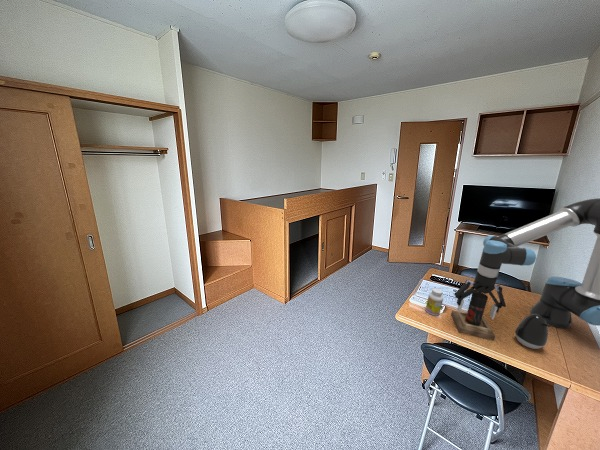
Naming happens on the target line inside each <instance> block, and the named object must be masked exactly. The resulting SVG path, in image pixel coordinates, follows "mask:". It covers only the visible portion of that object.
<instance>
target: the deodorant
mask: <svg viewBox="0 0 600 450" xmlns="http://www.w3.org/2000/svg"><path fill="white" fill-rule="evenodd" d="M488 299H489V296H488V295H487V294H484V293H478V292H476V293H473V294H471V297H470V301H469V305H468V308H467V311H466V312H467V315H466V318H465V321H466V322H467V323H468V324H470V325H475V326H480V323H481V320H482V317H484V314H485V309H486V305H487V302H488Z"/></svg>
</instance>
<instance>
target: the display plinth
mask: <svg viewBox="0 0 600 450" xmlns="http://www.w3.org/2000/svg"><path fill="white" fill-rule="evenodd" d="M466 315H467V311H466V312H465V311H462V310H461V313H460V312H458V310H456V311H455V310H452V311H451V312H450V317H451V318H452V320H453V323H454V325H455V328H456V329H457V331H458V333H459V334H463V335H467V336H472V337H476V338H481V339H485V340H489V341H490V340H491V341H495V339H496V334H495V333H494V331H493V330H492V328H491V327H490V325H489V323H488V322H487V320H486V319H485V317H484V316H482V320H481V323H480V326H475V325H470V324H468V323H467V322H466V321H465V318H466Z"/></svg>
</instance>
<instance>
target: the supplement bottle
mask: <svg viewBox="0 0 600 450" xmlns="http://www.w3.org/2000/svg"><path fill="white" fill-rule="evenodd" d="M426 301H427V302H426V305H425V311H426V312H427V313H428V314H429V315H432V316H439V315H440V313H441V309H442V305H443V302H444V297H443V290H441V289H440V288H436V287H435V288H432V289H431V292H430V293H429V294H428V298H427V300H426Z"/></svg>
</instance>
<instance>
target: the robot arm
mask: <svg viewBox="0 0 600 450" xmlns="http://www.w3.org/2000/svg"><path fill="white" fill-rule="evenodd" d="M580 225H592V226H594V227H593V228H594V229H593V233H594V235H596V236H597V237H596V239H595V243H594V246H593V249H592V252H591V255H590V258H589V261H588V263H587V264H588V265H587V268H586V271H585V272H584V276H583V279H582V282H580V281H577V280H574V279H571V278H568V277H562V276H550V277H548V279H547V280H546V282H545V284H544V287H543V290H542V293H541V296H540V298H539V300H538V301H537V302H536V303H535V304H534V305H533V306H532V307H531V309H530V311H529V312H530V315H531V314H538V315H541V316H542V317H543V318H544V319H545V320H546V323H547V324H549V325H550V327H551V326H552V327H555V328H560V329H570V328H571V326H572V324H573V319H572V314H574V315H575V316H576V317H578V318H579V319H580V320H582V321H585V322H586V323H587V324H590V325H592V326H598V327H599V326H600V198H598V197H597V198H589V199H584V200H581V201H577V202H573V203H571V204H569V205H566V206H563V207H560V208H559V209H558V211H557V212H555V213H552V214H549V215H547V216H545V217H542V218H540V219H537V220H535V221H533V222H530V223H527V224H525V225H523V226H520V227H518V228H515V229H513V230H511V231H508V232H506V233H503V234H501V235H498V236H497V235H488V236H486V237H485V238H484V239H483V242H482V244H483V248H482V252H481V256H480V260H479V263H478V265H477V271H476V272H475V273H476V274H475V275H474V276H475V277H474V280H473V281H471V280H469V279H465V282H464V283H463V284H462V285H461V286H460V288H459V289H458V290H457V291H455V292H454V293H453V295H454V297H455V299H457V300H456V304H457V308H456V311H458V312H460V313H461V311H462V308H463V307H464V306H463V305H464V299H466V298H468V297H469V296H472V294H473V293H476V292H478V293H483V294H485V295H487V294H488V295H489V296H490V297H491V299H492V301H493V302H494V303H493V304H492V305H491V306H492V307H491V310H490V313H489V317H490V319H492V320H494V319H495V316H496V314H498V313H499V311H500V309H502V308H503V307H504V308H505V307H507V304H506V301H505V298H504V295H503V287H502V286H501V285H500V284H498V285H496V282H497V279H498V276H499V273H500V269H501V267H502V264H503V265H513V266H531V265H533V264H534V263H535V262H536V259H537V255H536V253H535V251H534V250H532V249H531V248H526V247H519V246H523V245H525V244H528V243H530V242H533V241H534V240H535V241H536V240H538V239H540V238H542V237H545V236H549V235H550V234H553V233H556V232H558V231H561V230H563V229H566V228H569V227H578V226H580ZM469 287H470V288H469ZM493 290H495V291H496V292H497V296H498V299H499V301H498V299H497V298H496V297H495V295H494V293H493V292H492V291H493Z"/></svg>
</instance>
